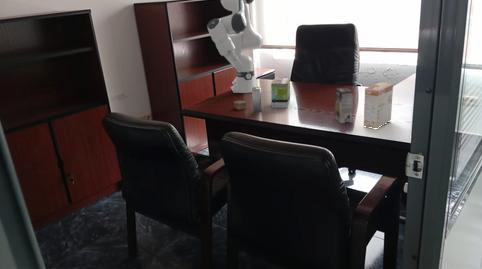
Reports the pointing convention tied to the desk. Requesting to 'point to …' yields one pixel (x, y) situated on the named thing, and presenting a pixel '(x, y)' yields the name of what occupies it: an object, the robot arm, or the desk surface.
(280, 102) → the tea box
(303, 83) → the desk surface
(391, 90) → the coffeecake box
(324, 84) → the desk surface
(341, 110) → the coffee box
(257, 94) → the tin canister
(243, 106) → the walnut coaster block
